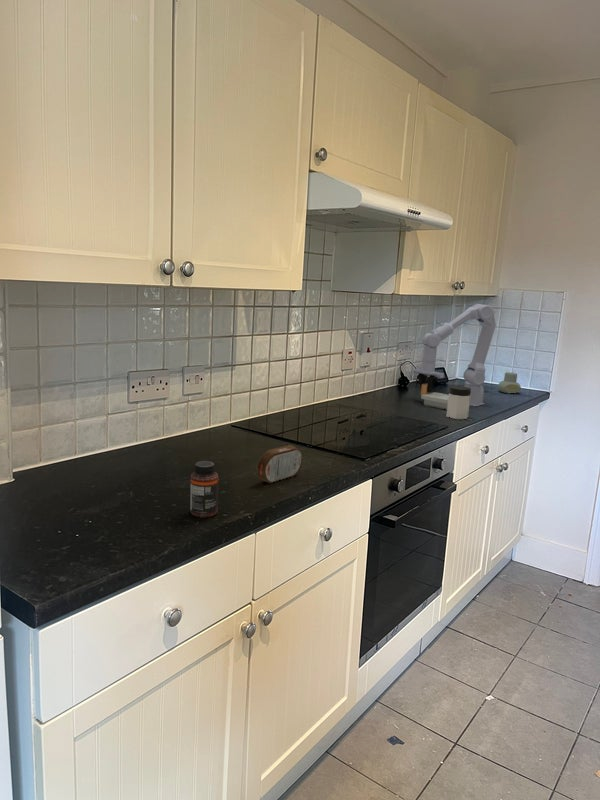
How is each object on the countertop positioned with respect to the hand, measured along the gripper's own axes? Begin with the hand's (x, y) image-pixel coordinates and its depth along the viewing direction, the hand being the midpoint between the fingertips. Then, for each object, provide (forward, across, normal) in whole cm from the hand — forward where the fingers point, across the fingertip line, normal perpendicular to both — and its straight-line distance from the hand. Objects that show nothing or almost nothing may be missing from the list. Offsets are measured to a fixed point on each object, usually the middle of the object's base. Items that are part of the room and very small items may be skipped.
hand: (425, 391), depth 265 cm
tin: (+5, +26, -124) cm, 127 cm away
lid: (+2, +8, 0) cm, 9 cm away
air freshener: (+5, +13, +62) cm, 64 cm away
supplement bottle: (+5, +30, -153) cm, 156 cm away
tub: (+5, +10, 0) cm, 11 cm away
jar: (+5, +22, -14) cm, 27 cm away
